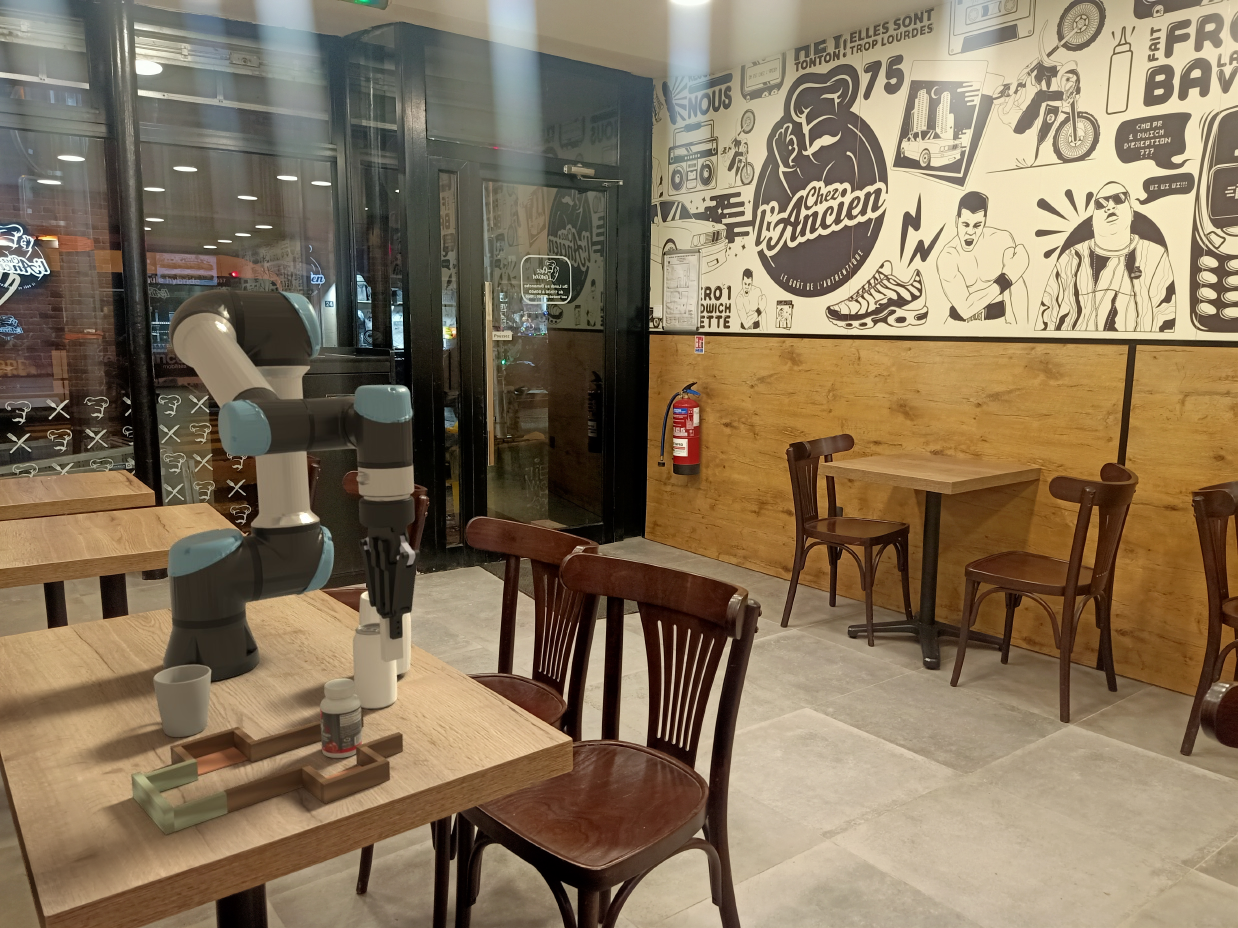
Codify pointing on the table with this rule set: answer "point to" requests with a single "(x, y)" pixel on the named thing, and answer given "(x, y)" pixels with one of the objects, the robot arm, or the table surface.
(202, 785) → the table surface
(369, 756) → the trap lane
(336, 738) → the pill bottle
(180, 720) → the cup
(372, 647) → the can
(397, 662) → the cup
